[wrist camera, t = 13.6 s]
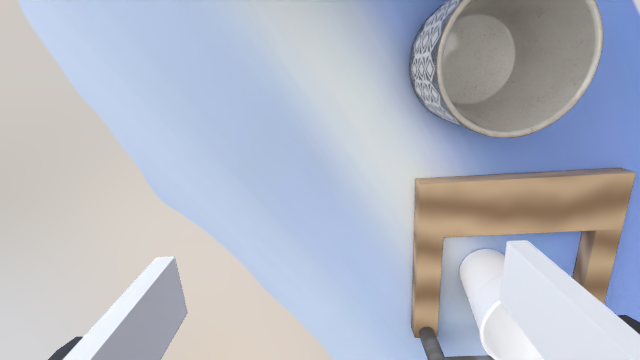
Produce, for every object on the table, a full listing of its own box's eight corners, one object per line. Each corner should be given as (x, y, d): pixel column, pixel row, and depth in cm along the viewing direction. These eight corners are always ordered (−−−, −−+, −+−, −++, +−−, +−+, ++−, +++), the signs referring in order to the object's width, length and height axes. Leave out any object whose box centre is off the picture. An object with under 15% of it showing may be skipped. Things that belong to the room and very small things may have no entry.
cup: (433, 291, 45) (466, 358, 34) (458, 227, 42) (502, 278, 31) (503, 305, 45) (556, 375, 35) (532, 242, 42) (600, 298, 32)
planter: (382, 57, 36) (404, 52, 26) (481, -34, 33) (548, -79, 23) (451, 143, 39) (495, 167, 29) (548, 65, 36) (633, 62, 26)
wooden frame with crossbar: (415, 178, 40) (436, 203, 32) (620, 167, 39) (692, 191, 31) (411, 328, 47) (427, 377, 39) (585, 321, 46) (637, 371, 38)
